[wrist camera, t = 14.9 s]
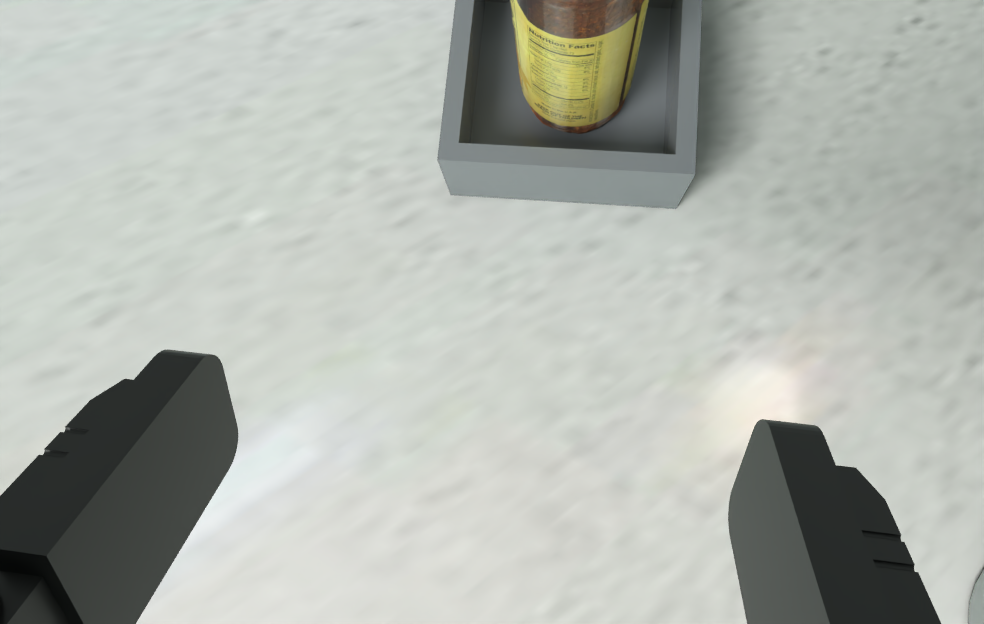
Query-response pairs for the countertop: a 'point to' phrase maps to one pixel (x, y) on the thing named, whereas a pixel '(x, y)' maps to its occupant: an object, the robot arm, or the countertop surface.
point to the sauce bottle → (577, 58)
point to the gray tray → (560, 155)
